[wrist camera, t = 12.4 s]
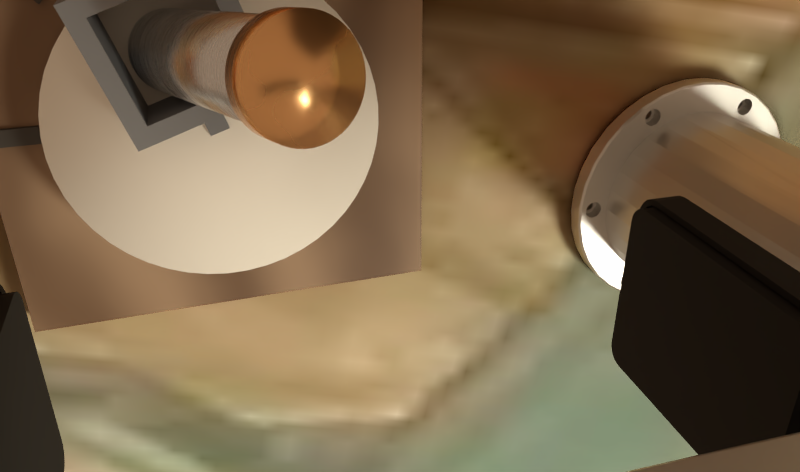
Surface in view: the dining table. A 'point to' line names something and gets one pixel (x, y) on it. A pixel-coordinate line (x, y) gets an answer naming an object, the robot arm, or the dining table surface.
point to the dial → (185, 153)
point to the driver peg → (256, 68)
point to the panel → (170, 289)
